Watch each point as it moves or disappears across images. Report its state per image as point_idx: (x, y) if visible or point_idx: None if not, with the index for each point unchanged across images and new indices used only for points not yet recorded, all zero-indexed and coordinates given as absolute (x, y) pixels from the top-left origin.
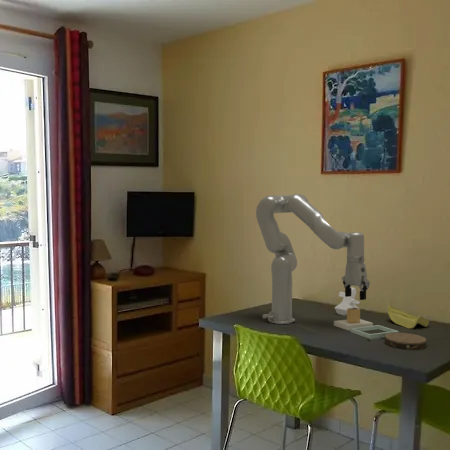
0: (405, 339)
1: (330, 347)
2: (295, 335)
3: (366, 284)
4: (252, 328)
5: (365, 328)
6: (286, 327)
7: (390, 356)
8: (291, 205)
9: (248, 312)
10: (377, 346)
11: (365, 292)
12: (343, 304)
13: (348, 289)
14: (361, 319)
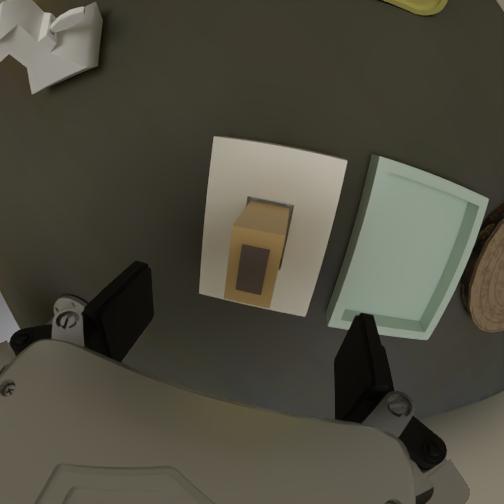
0: None
1: None
2: None
3: (428, 488)
4: None
5: (362, 256)
6: (147, 371)
7: (484, 373)
8: None
9: (15, 305)
10: (452, 347)
11: (390, 388)
12: (40, 67)
13: (116, 338)
14: (246, 140)
